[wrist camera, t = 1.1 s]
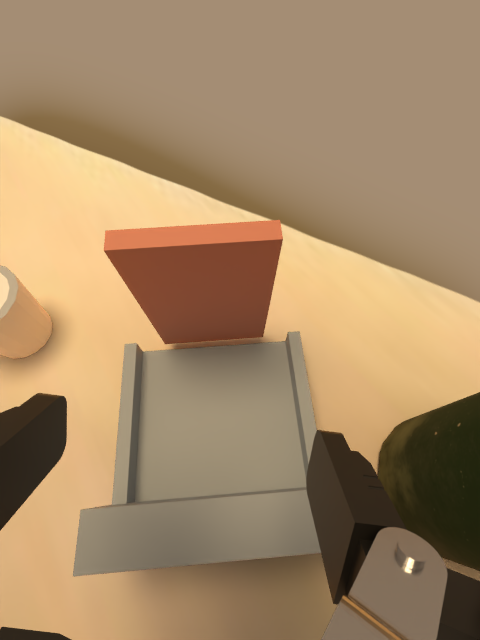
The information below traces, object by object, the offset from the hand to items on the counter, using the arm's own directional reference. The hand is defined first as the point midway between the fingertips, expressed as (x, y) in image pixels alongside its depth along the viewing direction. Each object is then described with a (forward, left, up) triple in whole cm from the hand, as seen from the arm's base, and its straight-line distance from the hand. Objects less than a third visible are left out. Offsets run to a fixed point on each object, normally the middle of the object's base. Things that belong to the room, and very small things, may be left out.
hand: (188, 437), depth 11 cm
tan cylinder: (+13, -19, -19) cm, 30 cm away
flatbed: (-1, -2, -19) cm, 19 cm away
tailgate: (-4, -10, -17) cm, 20 cm away
